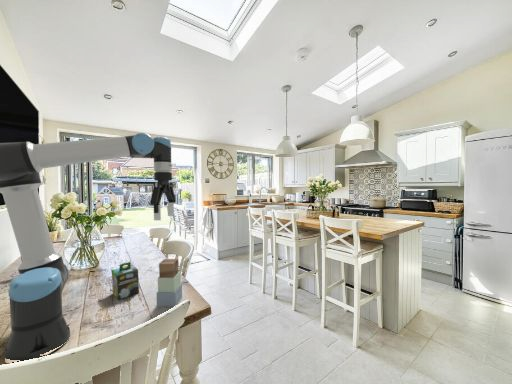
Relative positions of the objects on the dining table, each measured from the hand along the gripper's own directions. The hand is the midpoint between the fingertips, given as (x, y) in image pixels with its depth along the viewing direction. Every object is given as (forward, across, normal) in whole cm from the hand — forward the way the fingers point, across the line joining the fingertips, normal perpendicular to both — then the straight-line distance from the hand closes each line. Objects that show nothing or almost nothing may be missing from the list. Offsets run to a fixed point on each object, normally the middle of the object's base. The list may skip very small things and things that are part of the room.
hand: (164, 218), depth 105 cm
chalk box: (+36, 0, +20) cm, 41 cm away
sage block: (+30, -7, -5) cm, 31 cm away
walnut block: (+24, -7, -5) cm, 25 cm away
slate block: (+36, -7, -5) cm, 37 cm away
